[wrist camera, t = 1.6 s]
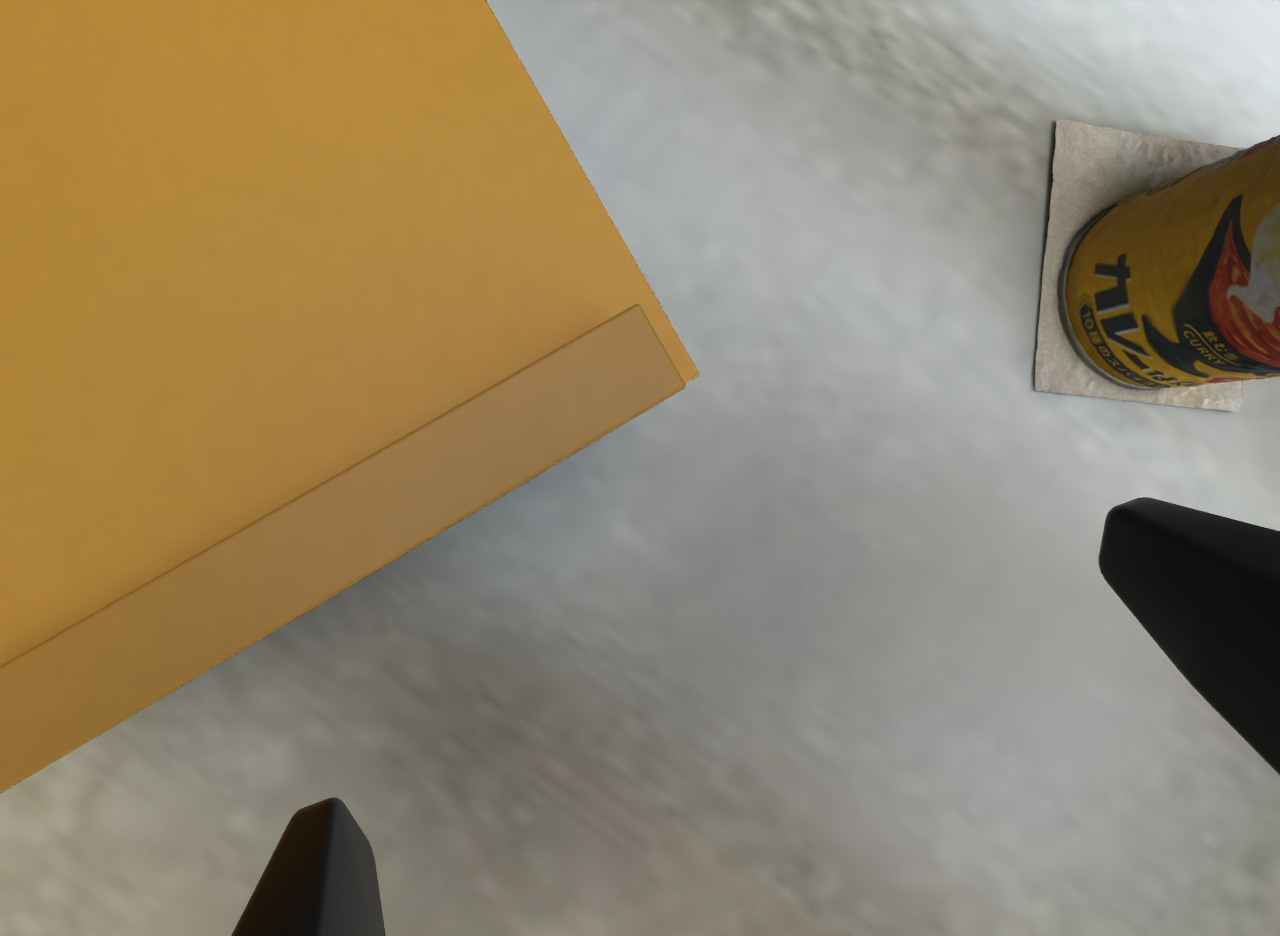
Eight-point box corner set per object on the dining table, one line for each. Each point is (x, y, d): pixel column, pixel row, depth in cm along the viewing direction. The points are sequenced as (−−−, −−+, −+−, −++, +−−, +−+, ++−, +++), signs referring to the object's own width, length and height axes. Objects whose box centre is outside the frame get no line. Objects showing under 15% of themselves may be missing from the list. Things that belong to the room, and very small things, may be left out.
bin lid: (688, 380, 16) (730, 360, 13) (-96, 843, 13) (-265, 950, 11) (307, -284, 14) (255, -477, 11) (-619, 112, 12) (-977, 2, 9)
